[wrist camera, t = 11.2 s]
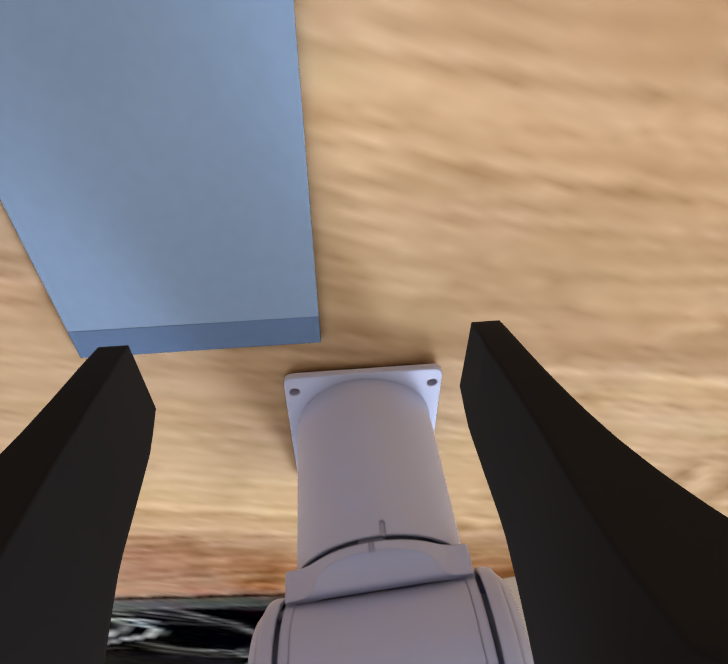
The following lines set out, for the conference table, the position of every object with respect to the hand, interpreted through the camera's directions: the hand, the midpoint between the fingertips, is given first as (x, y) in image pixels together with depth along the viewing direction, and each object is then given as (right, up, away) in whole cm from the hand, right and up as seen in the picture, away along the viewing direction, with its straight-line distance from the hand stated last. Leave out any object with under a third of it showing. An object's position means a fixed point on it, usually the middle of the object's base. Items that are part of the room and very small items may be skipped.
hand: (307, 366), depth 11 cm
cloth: (-6, +8, +6) cm, 12 cm away
